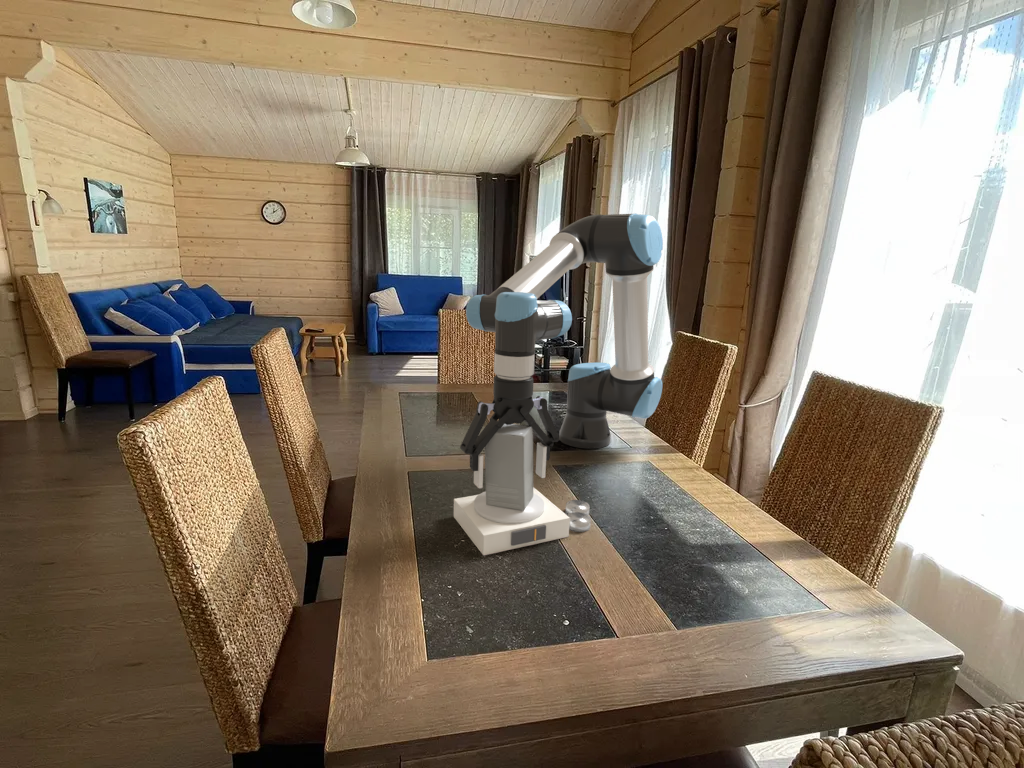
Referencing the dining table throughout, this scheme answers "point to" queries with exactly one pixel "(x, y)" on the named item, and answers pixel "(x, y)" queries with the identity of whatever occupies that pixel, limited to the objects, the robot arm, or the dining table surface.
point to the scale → (510, 523)
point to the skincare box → (510, 467)
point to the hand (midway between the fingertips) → (510, 480)
